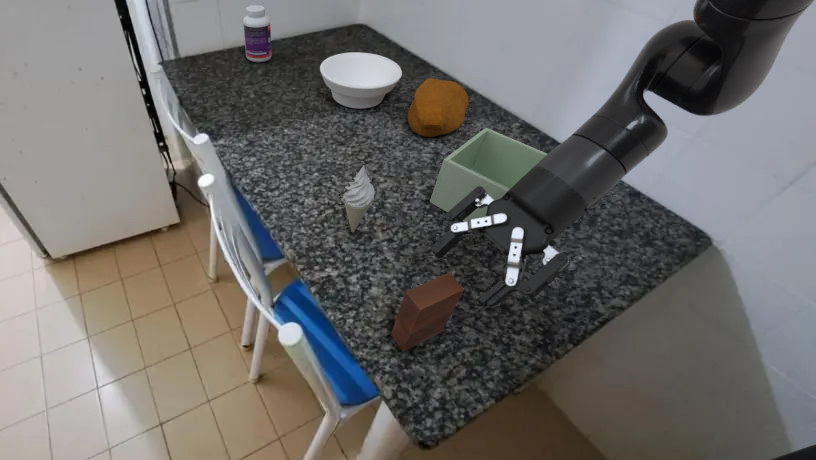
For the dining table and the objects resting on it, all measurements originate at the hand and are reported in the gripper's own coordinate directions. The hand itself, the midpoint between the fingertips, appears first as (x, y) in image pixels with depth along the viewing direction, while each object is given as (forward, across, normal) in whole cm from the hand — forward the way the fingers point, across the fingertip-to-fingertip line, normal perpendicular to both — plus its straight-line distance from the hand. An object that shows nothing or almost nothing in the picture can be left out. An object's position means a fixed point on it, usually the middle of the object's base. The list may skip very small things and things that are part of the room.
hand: (457, 278), depth 50 cm
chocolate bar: (+10, 0, +6) cm, 12 cm away
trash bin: (-11, -17, +27) cm, 34 cm away
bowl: (-10, -64, +27) cm, 70 cm away
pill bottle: (0, -100, +16) cm, 101 cm away
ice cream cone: (+9, -22, +7) cm, 25 cm away
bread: (-18, -45, +35) cm, 60 cm away
